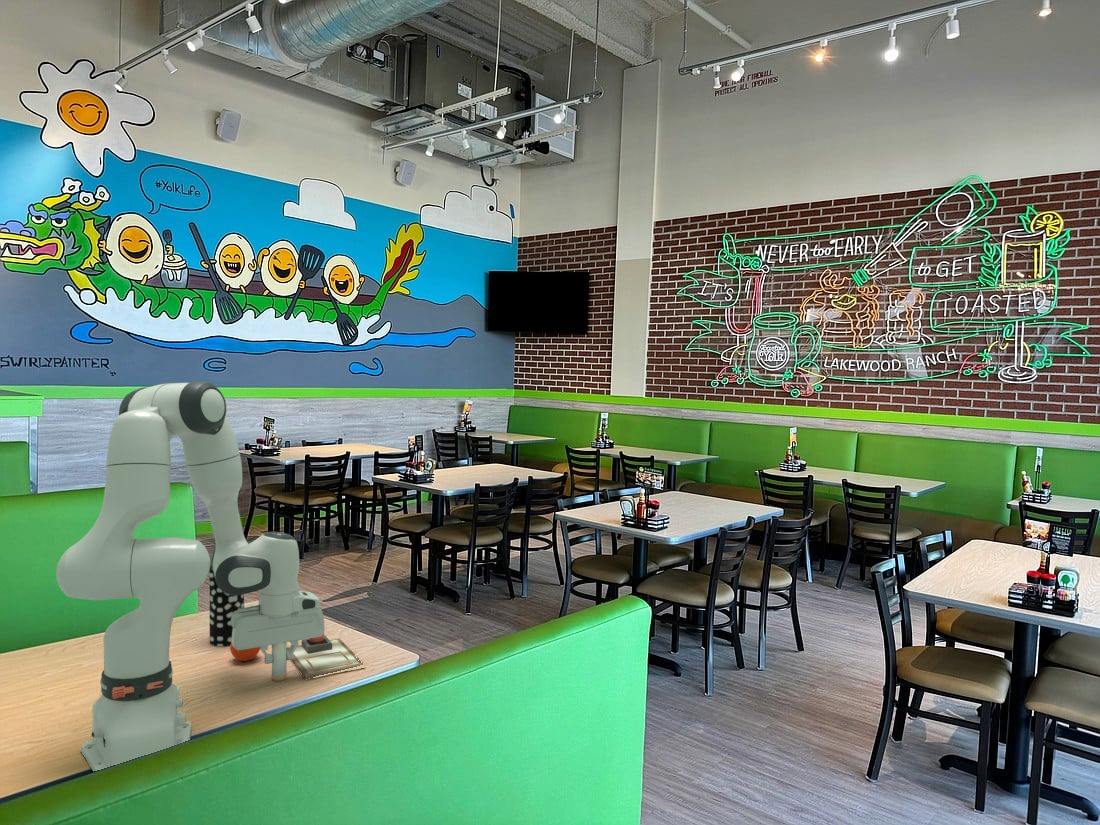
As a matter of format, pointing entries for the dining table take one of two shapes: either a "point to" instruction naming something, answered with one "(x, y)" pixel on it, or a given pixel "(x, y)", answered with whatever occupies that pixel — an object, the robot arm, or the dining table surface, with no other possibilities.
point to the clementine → (244, 653)
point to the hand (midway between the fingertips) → (279, 661)
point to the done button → (317, 639)
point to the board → (323, 657)
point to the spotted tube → (221, 612)
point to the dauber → (279, 662)
